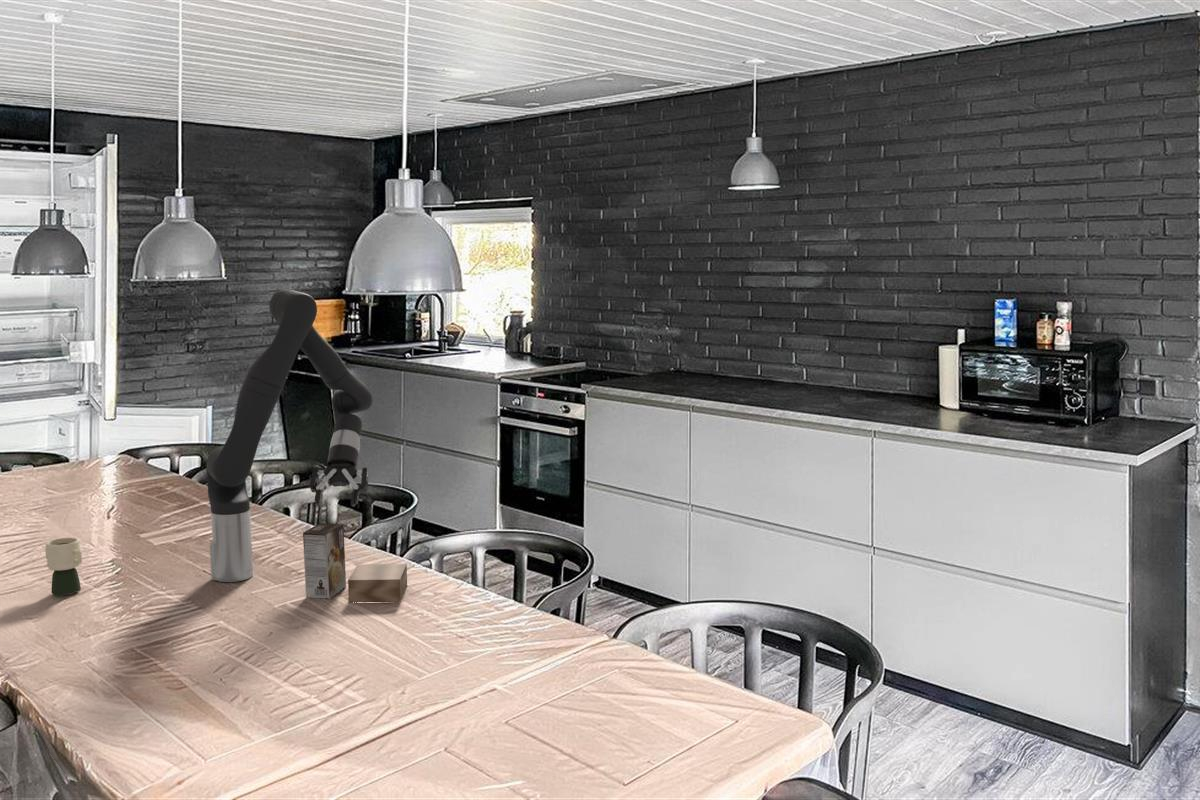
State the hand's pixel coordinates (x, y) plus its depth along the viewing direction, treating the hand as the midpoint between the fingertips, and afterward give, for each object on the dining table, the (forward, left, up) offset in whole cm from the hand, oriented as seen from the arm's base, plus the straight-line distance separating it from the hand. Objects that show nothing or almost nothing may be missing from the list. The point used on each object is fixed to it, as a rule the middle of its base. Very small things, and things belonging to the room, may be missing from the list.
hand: (335, 505), depth 261 cm
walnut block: (+13, -15, -19) cm, 27 cm away
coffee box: (0, -13, -19) cm, 22 cm away
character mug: (-62, -13, -19) cm, 66 cm away
